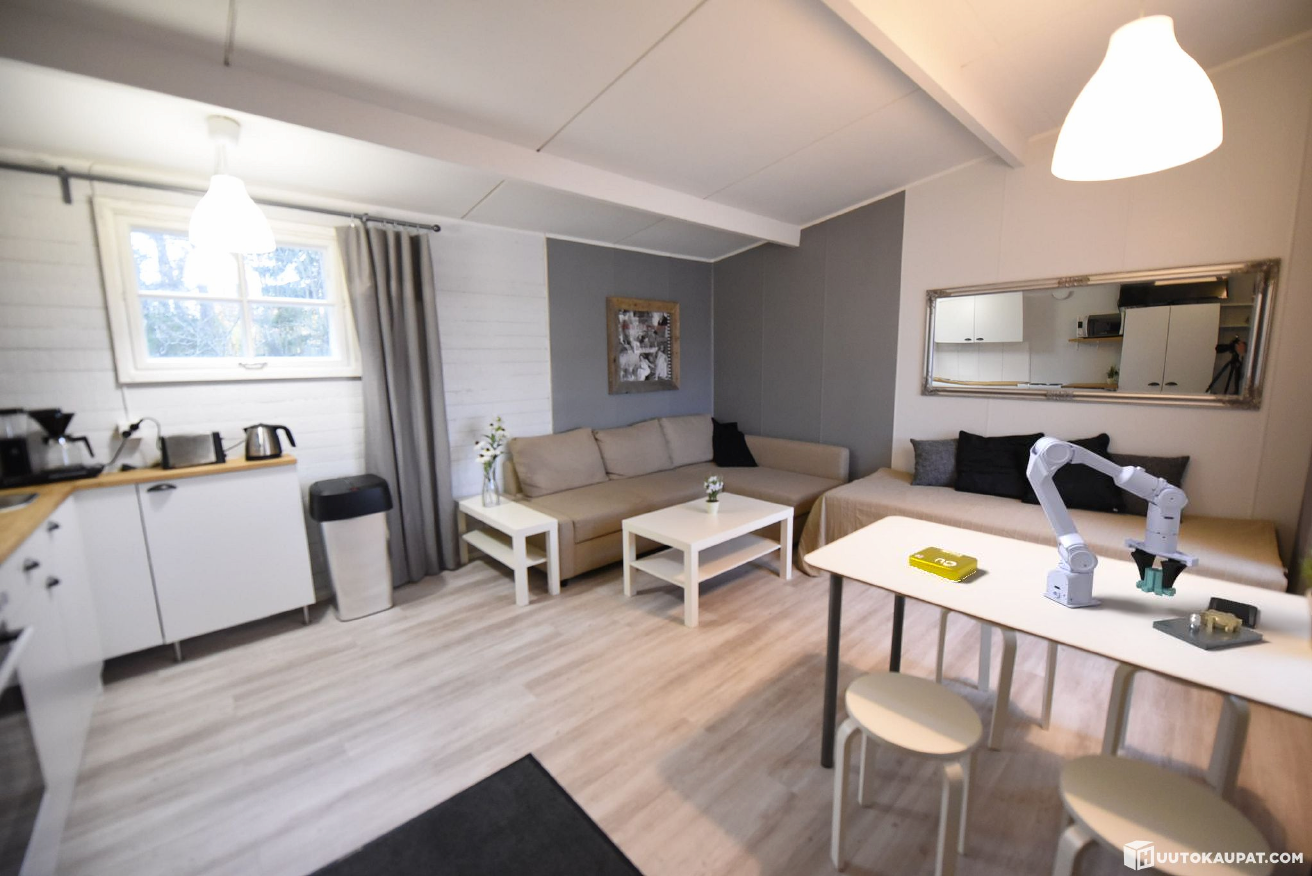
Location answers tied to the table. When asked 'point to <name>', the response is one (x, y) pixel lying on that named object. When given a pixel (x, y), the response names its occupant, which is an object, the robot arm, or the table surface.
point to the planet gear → (1154, 582)
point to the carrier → (1209, 630)
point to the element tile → (944, 563)
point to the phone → (1235, 610)
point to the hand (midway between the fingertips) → (1156, 583)
